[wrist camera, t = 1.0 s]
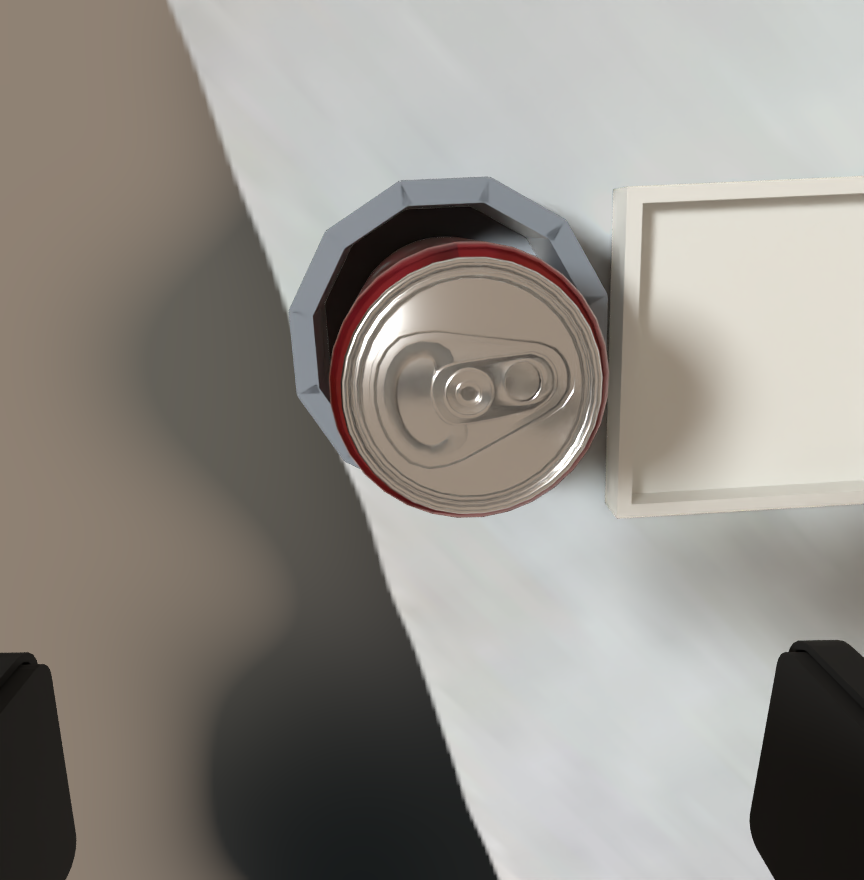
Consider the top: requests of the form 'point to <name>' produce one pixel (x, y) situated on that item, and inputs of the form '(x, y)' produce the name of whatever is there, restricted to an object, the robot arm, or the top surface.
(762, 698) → the top surface
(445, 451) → the soda can
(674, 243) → the tray
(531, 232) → the holder
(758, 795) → the robot arm
